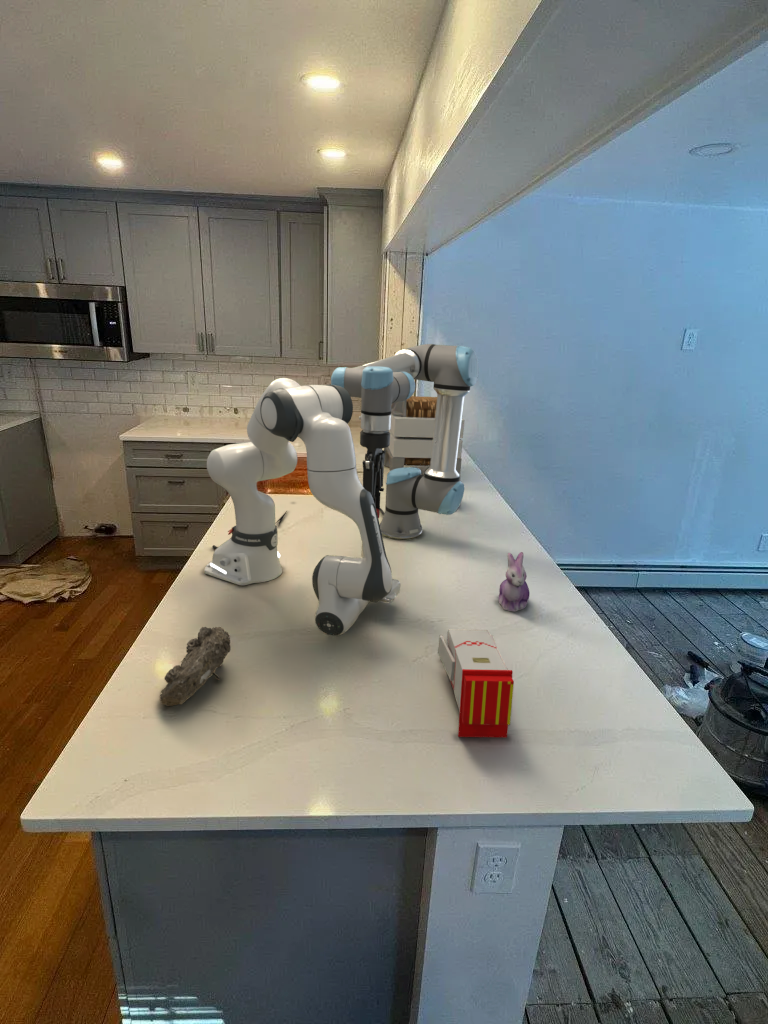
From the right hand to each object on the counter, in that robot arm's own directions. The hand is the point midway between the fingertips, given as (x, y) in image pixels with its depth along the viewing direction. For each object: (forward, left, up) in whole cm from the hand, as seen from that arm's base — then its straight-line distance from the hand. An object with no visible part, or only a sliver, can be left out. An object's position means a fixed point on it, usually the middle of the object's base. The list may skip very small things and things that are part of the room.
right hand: (372, 517), depth 150 cm
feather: (-67, +14, -22) cm, 72 cm away
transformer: (-81, +97, -22) cm, 128 cm away
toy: (+46, -10, -22) cm, 52 cm away
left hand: (0, +1, -16) cm, 16 cm away
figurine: (+28, +28, -22) cm, 46 cm away
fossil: (+8, -52, -22) cm, 57 cm away
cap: (0, 0, +2) cm, 2 cm away
